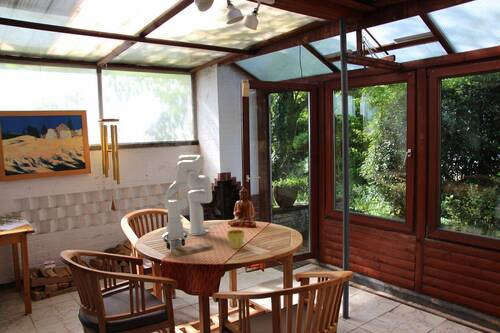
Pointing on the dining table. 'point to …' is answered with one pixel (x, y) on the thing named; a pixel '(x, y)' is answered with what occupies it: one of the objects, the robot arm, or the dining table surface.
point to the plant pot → (236, 238)
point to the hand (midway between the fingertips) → (175, 247)
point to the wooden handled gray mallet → (177, 244)
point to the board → (192, 249)
